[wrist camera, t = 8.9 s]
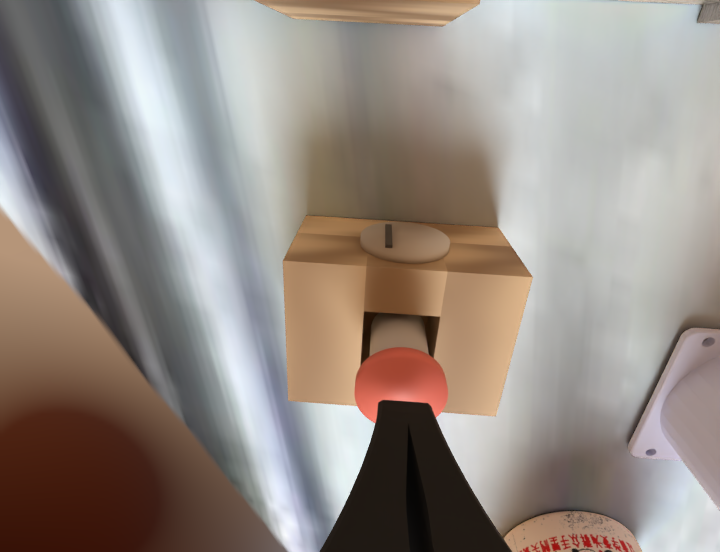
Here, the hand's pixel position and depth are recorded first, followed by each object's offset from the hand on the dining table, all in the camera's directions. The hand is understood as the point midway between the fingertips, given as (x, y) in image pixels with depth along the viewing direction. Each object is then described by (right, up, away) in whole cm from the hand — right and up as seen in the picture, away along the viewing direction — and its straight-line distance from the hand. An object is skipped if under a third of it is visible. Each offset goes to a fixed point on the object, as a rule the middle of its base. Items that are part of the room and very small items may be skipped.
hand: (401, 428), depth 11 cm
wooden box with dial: (0, +4, +7) cm, 8 cm away
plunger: (0, +2, +4) cm, 5 cm away
